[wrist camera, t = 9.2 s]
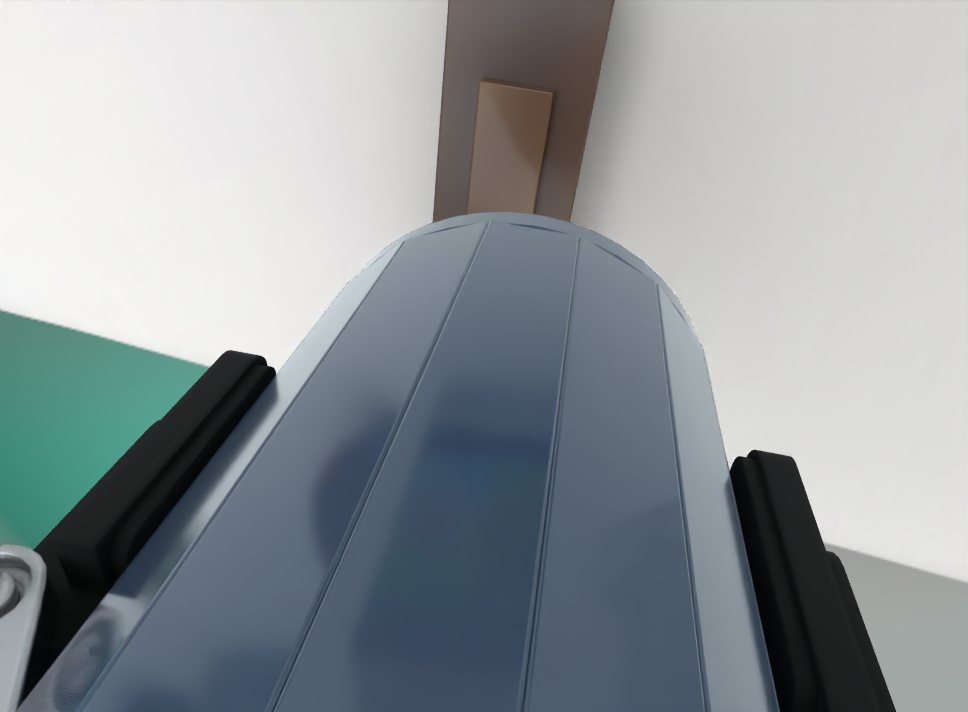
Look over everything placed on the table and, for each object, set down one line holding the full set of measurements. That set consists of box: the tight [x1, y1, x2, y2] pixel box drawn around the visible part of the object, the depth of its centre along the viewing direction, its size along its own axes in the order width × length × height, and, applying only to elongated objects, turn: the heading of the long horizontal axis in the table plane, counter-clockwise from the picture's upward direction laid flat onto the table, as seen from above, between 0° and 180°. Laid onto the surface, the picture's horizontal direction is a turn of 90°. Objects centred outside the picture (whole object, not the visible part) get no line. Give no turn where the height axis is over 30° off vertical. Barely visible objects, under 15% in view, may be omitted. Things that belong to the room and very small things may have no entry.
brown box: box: [433, 0, 614, 223], centre depth 24 cm, size 5×12×4 cm, turn 173°
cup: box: [16, 212, 780, 712], centre depth 9 cm, size 7×7×9 cm
